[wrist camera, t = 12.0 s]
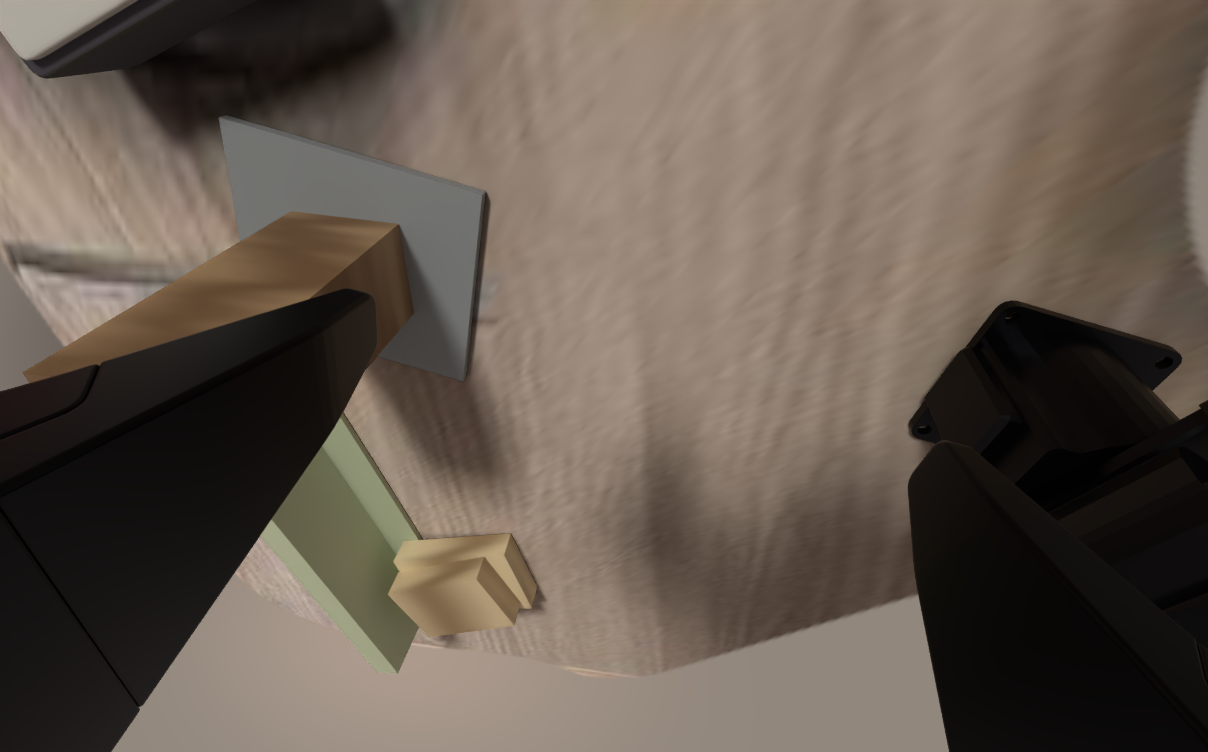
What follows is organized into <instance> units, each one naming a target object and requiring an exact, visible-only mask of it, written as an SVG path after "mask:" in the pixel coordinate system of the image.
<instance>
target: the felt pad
mask: <svg viewBox="0 0 1208 752" xmlns="http://www.w3.org/2000/svg"><path fill="white" fill-rule="evenodd" d="M219 123H220V128H221V134H222V140H223V146H224V152H225V157H226V163H227V169H228V175H229V180H230V186H231V192H232V198H233V204H234V209H235V215H236V221H237V227H238V233H239V238H240V241H242V240H244V239H245V238H247V237H249V236H250V235H252V234H254V233H255V232H257V231H259V230H260V229H262V228H264V227H265V226H267V225H269V224H270V223H272V222H274V221H275V220H277V219H279V218H280V217H282V216H284V215H285V214H287V213H289V212H290V211H294V212H303V213H311V214H320V215H328V216H336V217H345V218H353V219H362V220H370V221H379V222H387V223H396V224H399V228H400V234H401V240H402V246H403V252H404V257H405V263H406V269H407V275H408V281H409V287H410V292H411V298H412V304H413V310H414V314H413V315H412V316H411V317H410V319H409V320H408V321H407V322H406V323H405V324H404V326H403V327H402V328H401V329H400V330H399V331H398V333H397V334H396V335H395V336H394V337H393V338H392V339H391V341H390V342H389V343H388V344H387V345H386V346H385V348H384V349H383V350H382V351H381V352H380V353H379V355H378V357H381V358H385V359H388V360H392V361H395V362H398V363H402V364H405V365H409V366H412V367H415V368H419V369H422V370H426V371H429V372H432V373H436V374H439V375H443V376H446V377H449V378H453V379H456V380H460V381H464V379H465V377H466V373H467V364H468V354H469V345H470V335H471V326H472V317H473V307H474V298H475V288H476V279H477V269H478V260H479V250H480V241H481V231H482V222H483V213H484V203H485V194H486V191H483V190H480V189H476V188H473V187H469V186H466V185H463V184H459V183H456V182H452V181H449V180H446V179H442V178H439V177H435V176H432V175H429V174H425V173H422V172H418V171H415V170H412V169H408V168H405V167H401V166H398V165H395V164H391V163H388V162H384V161H381V160H378V159H374V158H371V157H367V156H364V155H361V154H357V153H354V152H350V151H347V150H344V149H340V148H337V147H334V146H330V145H327V144H323V143H320V142H317V141H313V140H310V139H306V138H303V137H300V136H296V135H293V134H289V133H286V132H283V131H279V130H276V129H272V128H269V127H266V126H262V125H259V124H255V123H252V122H249V121H245V120H242V119H238V118H235V117H232V116H228V115H224V116H221V117H219Z"/></svg>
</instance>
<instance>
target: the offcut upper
mask: <svg viewBox="0 0 1208 752" xmlns="http://www.w3.org/2000/svg"><path fill="white" fill-rule="evenodd" d="M388 595H389V596H390V597H391V598H392V600H393V601H394V602H395V603H396V604H397V605H398V606H399V607H400V608H401V609H402V610H403V611H404V612H405V613H406V614H407V615H408V616H409V617H410V618H411V619H412V620H413V621H414V622H415V623H416V624H417V625H418V626H419V627H420V628H421V629H422V630H423V631H424V632H425V633H426V634H427V635H428V636H429V637H434V636H442V635H449V634H456V633H464V632H471V631H478V630H485V629H493V628H500V627H507V626H514V625H515V622H516V618H517V614H518V610H519V607H520V603H521V602H520V601H519V600H518V598H517V597H516V596H515V595H514V593H513V592H512V591H511V590H510V588H509V587H508V586H507V584H506V583H505V582H504V581H503V579H502V578H501V577H500V576H499V574H498V573H497V572H496V571H495V569H494V568H493V567H492V566H491V564H490V563H489V562H488V561H487V559H486V558H485V557H479V558H473V559H468V560H462V561H457V562H451V563H446V564H441V565H435V566H430V567H424V568H419V569H413V570H408V571H403V572H398V574H397V576H396V578H395V580H394V582H393V585H392V587H391V589H390V591H389V593H388Z"/></svg>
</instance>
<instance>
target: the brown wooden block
mask: <svg viewBox="0 0 1208 752" xmlns="http://www.w3.org/2000/svg"><path fill="white" fill-rule="evenodd" d="M344 288H351V289H355V290H359V291H363V292H366V293H370V294H371V295H372V296H373V297H374V298H375V301H376V313H377V333H378V340H377V346H376V349H375V352H374V354H373V356H372V358H371V360H370V362H369V364H368V365H367V367H368V366H369V365H370V364H371V363H372V362H373V360H374V359H375V358H376V357H377V356H378V355H379V353H380V352H381V351H382V350H383V349H384V348H385V346H386V345H387V344H388V343H389V342H390V341H391V339H392V338H393V337H394V336H395V335H396V334H397V333H398V331H399V330H400V329H401V328H402V327H403V326H404V324H405V323H406V322H407V321H408V320H409V319H410V317H411V316H412V315H413V314H414V310H413V304H412V298H411V292H410V287H409V281H408V275H407V269H406V263H405V257H404V252H403V246H402V240H401V234H400V228H399V224H396V223H387V222H379V221H370V220H362V219H353V218H345V217H336V216H328V215H320V214H311V213H303V212H294V211H290V212H289V213H287V214H285V215H284V216H282V217H280V218H279V219H277V220H275V221H274V222H272V223H270V224H269V225H267V226H265V227H264V228H262V229H260V230H259V231H257V232H255V233H254V234H252V235H250V236H249V237H247V238H245V239H244V240H242V241H240V242H239V243H237V244H235V245H234V246H232V247H231V248H229V249H227V250H226V251H224V252H222V253H221V254H219V255H217V256H216V257H214V258H212V259H211V260H209V261H207V262H206V263H204V264H202V265H201V266H199V267H197V268H196V269H194V270H192V271H191V272H189V273H187V274H186V275H184V276H182V277H181V278H179V279H177V280H176V281H174V282H172V283H171V284H169V285H167V286H166V287H164V288H162V289H161V290H159V291H157V292H156V293H154V294H152V295H151V296H149V297H147V298H146V299H144V300H142V301H141V302H139V303H137V304H136V305H134V306H132V307H131V308H129V309H127V310H126V311H124V312H122V313H121V314H119V315H117V316H116V317H114V318H113V319H111V320H109V321H108V322H106V323H104V324H103V325H101V326H99V327H98V328H96V329H94V330H93V331H91V332H89V333H88V334H86V335H84V336H83V337H81V338H79V339H78V340H76V341H74V342H73V343H71V344H69V345H68V346H66V347H64V348H63V349H61V350H59V351H58V352H56V353H54V354H53V355H51V356H49V357H48V358H46V359H45V360H43V361H41V362H39V363H38V364H36V365H35V366H33V367H31V368H29V369H28V370H26V371H24V372H23V374H24V375H25V377H26V378H27V380H28V381H29V382H30V383H32V382H35V381H39V380H42V379H46V378H49V377H53V376H56V375H60V374H63V373H67V372H70V371H73V370H76V369H79V368H83V367H86V366H89V365H92V364H98V365H99V366H100V365H101V363H102V362H103V361H106V360H109V359H113V358H116V357H119V356H123V355H126V354H129V353H133V352H136V351H139V350H142V349H146V348H149V347H152V346H156V345H159V344H162V343H166V342H169V341H172V340H175V339H179V338H182V337H185V336H189V335H192V334H195V333H199V332H202V331H205V330H208V329H212V328H215V327H218V326H222V325H225V324H228V323H232V322H235V321H238V320H241V319H245V318H248V317H251V316H255V315H258V314H261V313H265V312H268V311H271V310H274V309H278V308H281V307H284V306H288V305H291V304H294V303H298V302H301V301H304V300H307V299H311V298H314V297H317V296H321V295H324V294H327V293H331V292H334V291H337V290H340V289H344ZM367 367H366V369H367ZM366 369H365V370H366Z"/></svg>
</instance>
